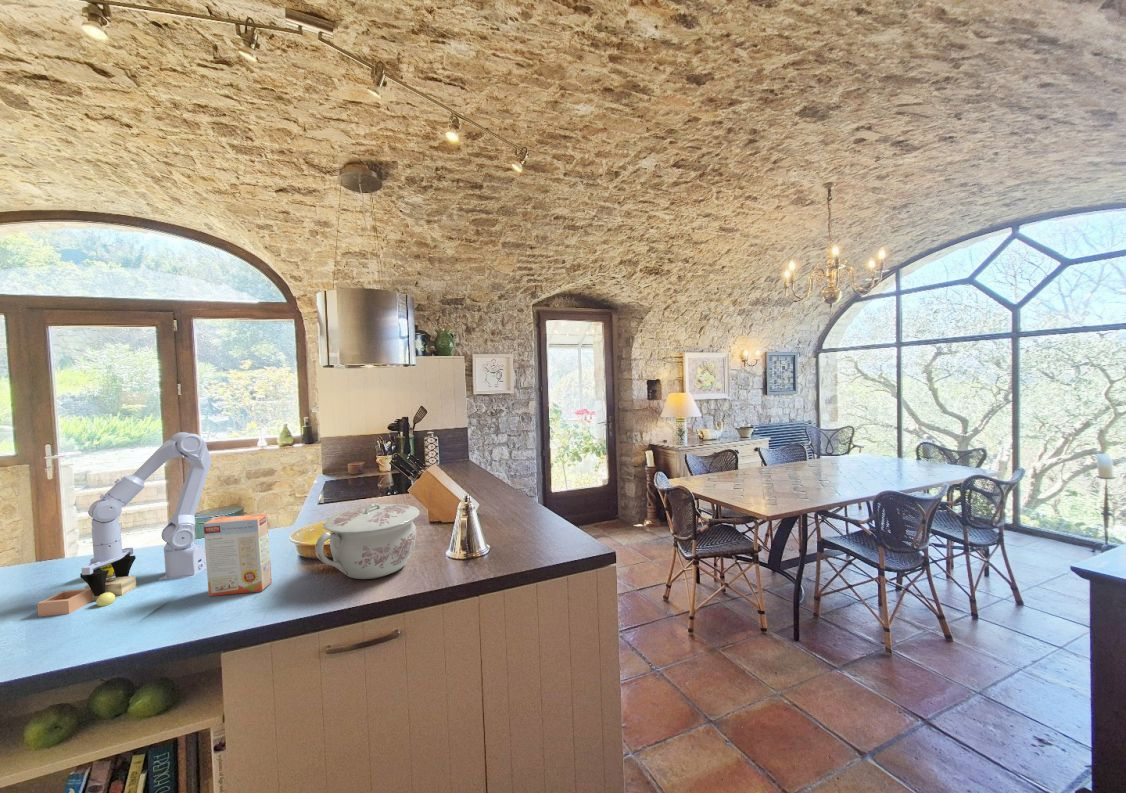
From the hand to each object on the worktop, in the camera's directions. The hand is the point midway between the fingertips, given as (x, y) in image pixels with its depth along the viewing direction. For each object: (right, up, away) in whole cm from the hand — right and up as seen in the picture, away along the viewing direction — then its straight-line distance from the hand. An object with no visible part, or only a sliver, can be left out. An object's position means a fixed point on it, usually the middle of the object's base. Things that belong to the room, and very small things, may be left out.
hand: (111, 589), depth 129 cm
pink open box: (-4, -2, -8) cm, 9 cm away
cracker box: (+36, -1, +1) cm, 36 cm away
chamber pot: (+70, +1, +12) cm, 71 cm away
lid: (0, -1, 0) cm, 1 cm away
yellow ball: (+5, -2, -6) cm, 8 cm away
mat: (0, -2, 0) cm, 2 cm away
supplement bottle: (-13, -2, +13) cm, 18 cm away
